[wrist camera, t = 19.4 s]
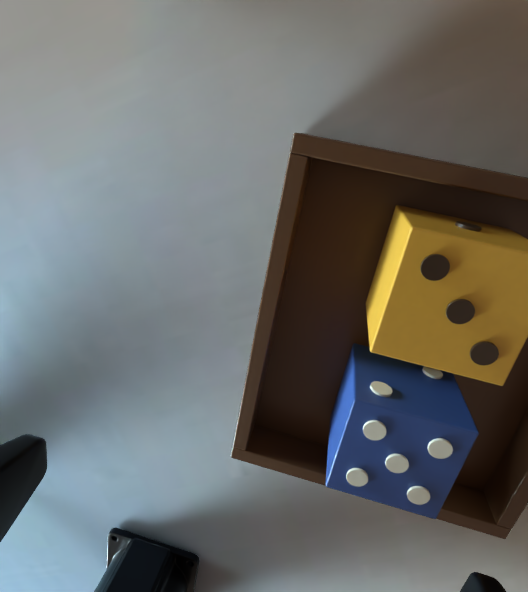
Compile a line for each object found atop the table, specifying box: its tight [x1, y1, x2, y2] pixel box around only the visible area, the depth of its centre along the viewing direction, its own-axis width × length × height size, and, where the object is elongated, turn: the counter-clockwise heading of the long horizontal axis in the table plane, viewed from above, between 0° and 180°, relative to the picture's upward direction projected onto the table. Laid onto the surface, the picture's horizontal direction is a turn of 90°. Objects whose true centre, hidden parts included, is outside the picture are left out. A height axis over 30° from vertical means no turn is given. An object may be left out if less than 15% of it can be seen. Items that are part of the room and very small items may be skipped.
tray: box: [231, 133, 528, 539], centre depth 18 cm, size 15×13×3 cm
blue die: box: [325, 343, 479, 519], centre depth 17 cm, size 5×4×5 cm
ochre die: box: [366, 205, 528, 386], centre depth 15 cm, size 5×4×5 cm
